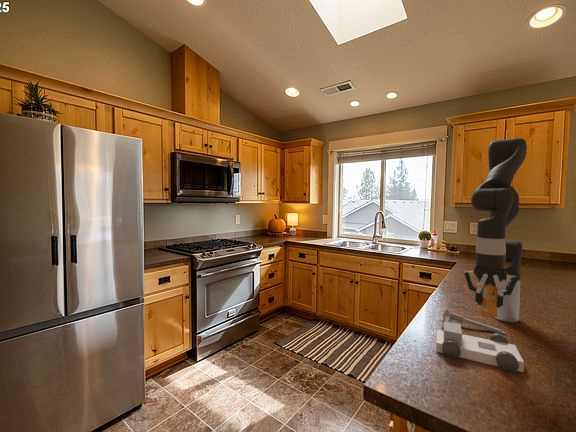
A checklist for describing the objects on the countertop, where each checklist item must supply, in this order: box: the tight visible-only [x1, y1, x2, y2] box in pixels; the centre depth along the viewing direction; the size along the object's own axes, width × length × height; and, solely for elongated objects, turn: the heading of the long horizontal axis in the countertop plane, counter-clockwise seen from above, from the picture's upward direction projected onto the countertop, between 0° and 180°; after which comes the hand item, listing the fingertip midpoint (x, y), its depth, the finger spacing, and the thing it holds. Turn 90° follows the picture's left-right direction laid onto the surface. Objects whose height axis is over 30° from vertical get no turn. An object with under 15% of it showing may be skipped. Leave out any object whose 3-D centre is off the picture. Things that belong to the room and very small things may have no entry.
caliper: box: [442, 308, 506, 335], centre depth 106 cm, size 20×1×6 cm, turn 62°
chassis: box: [436, 320, 525, 373], centre depth 88 cm, size 15×22×7 cm
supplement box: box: [479, 284, 497, 318], centre depth 86 cm, size 3×3×10 cm
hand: (488, 305), depth 86 cm, fingers closed on supplement box, 4 cm apart
